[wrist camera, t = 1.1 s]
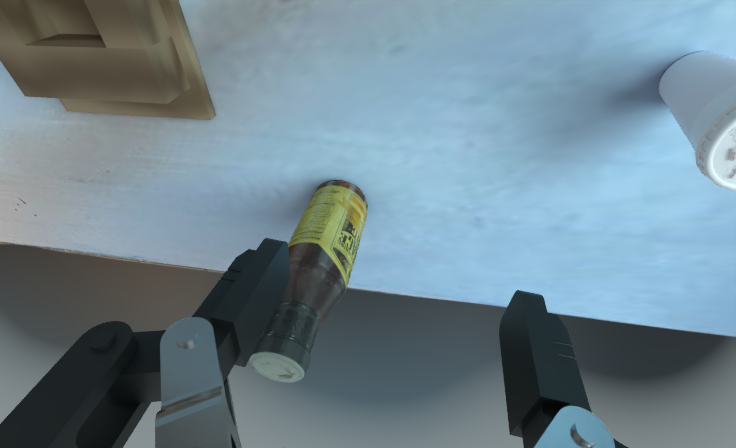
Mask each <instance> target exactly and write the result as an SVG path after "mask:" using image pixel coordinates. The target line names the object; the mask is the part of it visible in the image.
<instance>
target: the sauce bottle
mask: <svg viewBox="0 0 736 448" xmlns="http://www.w3.org/2000/svg"><path fill="white" fill-rule="evenodd" d="M366 217H367V202H366V199H365V197H364V195H363V193H362V191H361V190H360V189H359V188H358V187H356V186H355V185H352V184H350V183H348V182H346V181H341V180H335V181H330V182H327V183H324V184H322V185H321V186H319V188H318V190H317V191H316V192H315V194H314V195H313V196H312V198H311V200H310V202H309V204H308V206H307V208H306V210H305V212H304V214H303V216H302V218H301V220H300V222H299V224H298V226H297V228H296V230H295V232H294V234H293V236H292V238H291V240H290V242H289V244H288V250H289V263H290V278H289V282H288V285H287V288H286V290H285V292H284V294H283V295H282V297H281V299H280V301H279V303H278V305H277V307H276V309H275V311H274V313H273V315H272V317H271V318H270V320H269V322H268V324H267V326H266V328H265V330H264V332H263V334H262V336H261V338H260V339H259V341H258V343H257V345H256V347H255V349H254V351H253V353H252V355H251V357H250V359H249V361H250V364H251V366H252V368H253V369H254V370H255V371H257V372H258V373H259V374H262V375H264V376H265V377H267V378H270V379H272V380H276V381H280V382H295V381H298V380H300V379H301V378H303V377H304V376H305V374H306V371H307V368H308V366H309V363H310V351H311V348H312V346H313V342H314V339H315V336H316V333H317V331H318V330H319V327H320V325H321V324H322V323H323V321H324V320H325V319H326V317H327V316H328V315H329V314H330V312H331V311H332V309H333V308H334V307H335V306H336V305H337V303H338V302H339V300H340V299H341V298H342V297H343V296H344V294H345V291H346V288H347V285H348V282H349V278H350V274H351V271H352V267H353V264H354V261H355V257H356V253H357V250H358V246H359V242H360V239H361V235H362V231H363V228H364V224H365V221H366Z"/></svg>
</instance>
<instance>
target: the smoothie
mask: <svg viewBox="0 0 736 448" xmlns="http://www.w3.org/2000/svg"><path fill="white" fill-rule="evenodd" d="M659 94H660V96H661V97H662V99H663V101H664V102H665V104H666V105H667V107H668V108H669V110H670V112H671V113H672V115H673V116H674V118H675V119H676V121H677V123H678V124H679V126H680V127H681V129H682V130H683V132H684V134H685V135H686V137H687V138H688V140H689V141H690V143H691V145H692V147H693V148H694V150H695V151H696V152H695V156H696V165H697V166H698V168H699V169H700V171H701V173H702V174H704V175H705V176H707V177H708V178H709V179H710V180H711V181H712V182H714V183H715V184H716V185H718V186H720V187H723V188H726V189H730V190H735V191H736V59H734V58H731V57H727V56H724V55H720V54H716V53H713V52H708V51H700V52H695V53H691V54H689V55H686V56H684V57H682V58H680V59H679V60H677V61H676V62H675V63H673V64H672V65H671V66H670V67H669V68H668V69H667V70H666V71H665V73H664V74H663V76H662V77H661V80H660V82H659Z"/></svg>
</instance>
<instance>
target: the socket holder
mask: <svg viewBox="0 0 736 448" xmlns="http://www.w3.org/2000/svg"><path fill="white" fill-rule="evenodd" d="M0 60H1V62H2V63H3V65H4V66H5V68H6V69H7V71H8V72H9V73H10V75H11V76H12V78H13V79H14V81H15V82H16V84H17V85H18V87H19V88H20V89H21V91H22V92H23V94H24V95H25V96H29V97H48V98H59V99H60V101H61V103H62V104H63V106H64V107H65V109H66V111H72V112H89V113H105V114H122V115H139V116H156V117H173V118H189V119H206V120H211V119H213V118H214V117H215V116H216V113H215V110H214V107H213V104H212V101H211V98H210V95H209V92H208V89H207V86H206V83H205V80H204V77H203V74H202V71H201V68H200V65H199V62H198V59H197V56H196V53H195V49H194V46H193V43H192V40H191V37H190V34H189V31H188V28H187V25H186V22H185V19H184V16H183V13H182V10H181V7H180V4H179V1H178V0H0Z"/></svg>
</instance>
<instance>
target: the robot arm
mask: <svg viewBox="0 0 736 448" xmlns="http://www.w3.org/2000/svg"><path fill="white" fill-rule="evenodd" d="M289 278H290V263H289V250H288V243H287V242H284V241H279V240H274V239H269V238H265V239H264V240H263V241H262V243H261V244H260V246H259V247H258V249H257V250H256V251H255V250H251V249H248V250H247V251H245V252H244V253H242V254H241V255H239V256H238V257H236V258H235V260H234V261H233V263H232V264H231V265H230V267H229V268H228V271H226V272H225V273H224V275H223V276H222V277H221V280H219V281H218V283H217V284H216V285H215V287H214V288H213V289H212V291H211V292H210V293H209V295H208V296H207V297H206V299H205V300H204V302H203V303H202V304H201V306H200V307H199V308H198V310H197V311H196V312H195V314H194V315H193V316H192V317H190V318H185V319H183V320H180V321H178V322H176V323H175V324H173V325H172V326H170V327H169V328H168V329H167V330H162V331H148V332H133V331H132V329H131V328H130V326H129V325H128V324H126V323H124V322H120V321H111V322H106V323H102V324H100V325H97V326H95V327H93V328H91V329H90V330H88V331H87V332H86V333H84V334H83V335H82V336H81V337H80V338H79V339H78V340H77V341H76V342H75V343H74V345H73V346H72V347H71V348H70V349H69V350H68V351H67V352H66V353H65V354H64V356H62V358H61V359H60V360H59V361H58V362H57V363H56V364H55V365H54V366H53V367H52V368H51V370H50V371H49V372H48V373H47V374H46V375H45V376H44V377H43V378H42V379H41V380H40V382H39V383H38V384H37V385H36V386H35V387H34V388H33V389H32V390H31V391H30V392H29V394H27V396H26V397H25V398H24V399H23V400H22V401H21V402H20V403H19V404H18V405H17V406H16V407H15V409H14V410H13V411H12V412H11V413H10V414H9V415H8V416H7V417H6V418H5V419H4V421H3V422H2V423H1V424H0V448H123V446H124V445H125V443H126V442H127V440H128V438H129V437H130V435H131V434H132V432H133V430H134V429H135V427H136V426H137V424H138V423H139V421H140V419H141V418H142V416H143V414H144V413H145V411H146V410H147V408H148V407H149V405H150V403H151V402H156V401H161V402H162V405H161V411H159V412H158V413H157V414H156V419H155V448H242V447H241V442H240V438H239V434H238V430H237V424H236V418H235V412H234V406H233V401H232V395H231V389H230V384H229V378H228V375H229V373H230V371H231V369H232V368H233V366H234V365H238V366H242V367H245V366H246V364H247V362H248V361H249V359H250V357H251V355H252V353H253V351H254V349H255V347H256V345H257V343H258V341H259V339H260V338H261V336H262V334H263V332H264V330H265V328H266V326H267V324H268V322H269V320H270V318H271V317H272V315H273V313H274V311H275V309H276V307H277V305H278V303H279V301H280V299H281V297H282V295H283V294H284V292H285V290H286V288H287V285H288V282H289ZM499 338H500V347H501V357H502V366H503V374H504V384H505V394H506V402H507V412H508V421H509V430H510V435H514V436H518V437H522V438H523V444H524V448H628V447H626V446H624V445H623V444H621V443H619V442H618V441H616V440H615V439H613V438H612V436H611V434H610V432H609V430H608V429H607V427H606V426H605V425H604V424H603V422H602V421H601V420H600V419H599V418H597V417H596V416H595V415H594V414H592V412H591V409H590V406H589V403H588V399H587V396H586V392H585V389H584V385H583V382H582V379H581V375H580V372H579V369H578V365H577V362H576V360H575V355H574V351H573V348H572V347H571V341H570V338H569V334H568V331H567V329H566V327H565V326H564V324H563V323H562V322H561V320H560V319H559V317H558V316H557V315H556V314H552V313H547V309H546V305H545V301H544V298H543V296H542V295H539V294H534V293H529V292H524V291H520V290H517V291H516V292H515V294H514V295H513V297H512V299H511V301H510V303H509V305H508V307H507V309H506V311H505V313H504V315H503V317H502V319H501V323H500V328H499Z"/></svg>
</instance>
